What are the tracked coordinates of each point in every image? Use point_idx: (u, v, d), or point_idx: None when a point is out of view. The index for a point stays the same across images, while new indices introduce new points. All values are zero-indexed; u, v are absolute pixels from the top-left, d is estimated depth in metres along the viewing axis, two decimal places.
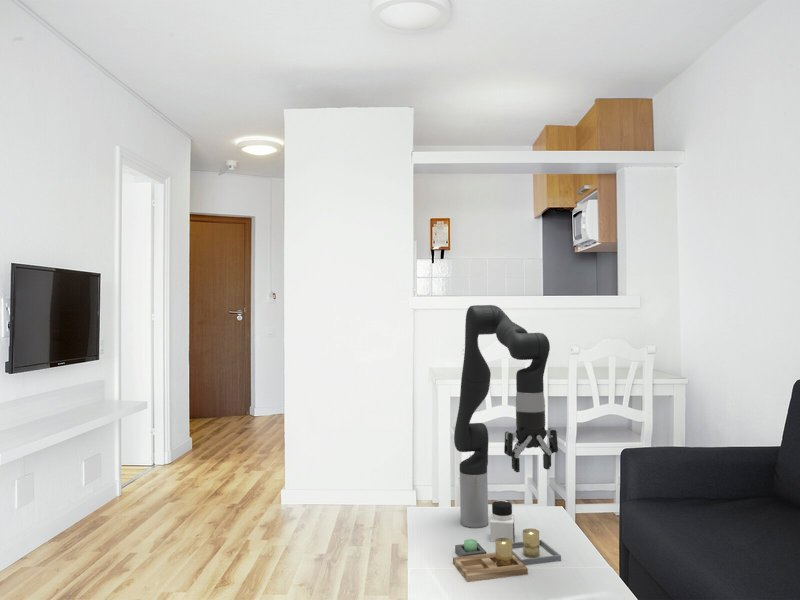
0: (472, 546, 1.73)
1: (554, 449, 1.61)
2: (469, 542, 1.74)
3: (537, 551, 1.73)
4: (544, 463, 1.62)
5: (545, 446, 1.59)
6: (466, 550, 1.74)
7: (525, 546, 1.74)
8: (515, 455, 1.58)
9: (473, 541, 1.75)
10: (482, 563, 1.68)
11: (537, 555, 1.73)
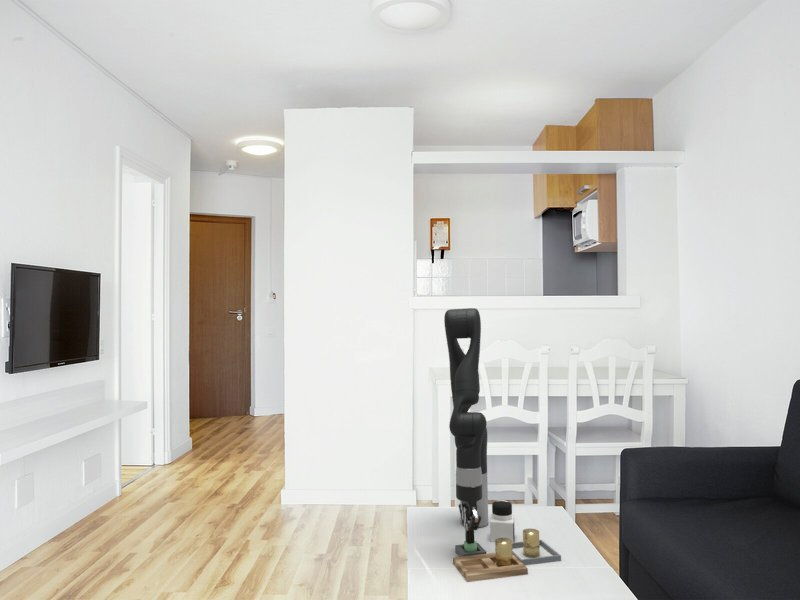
0: (472, 546, 1.73)
1: None
2: None
3: (537, 551, 1.73)
4: None
5: None
6: (466, 551, 1.74)
7: (525, 546, 1.74)
8: None
9: None
10: (482, 563, 1.68)
11: (537, 555, 1.73)
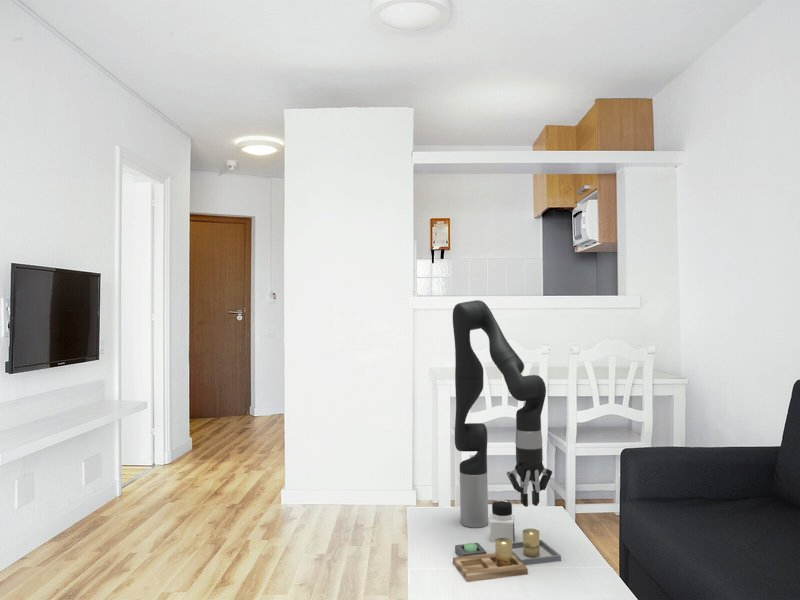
0: (472, 550, 1.73)
1: None
2: (469, 546, 1.74)
3: (537, 551, 1.73)
4: None
5: None
6: None
7: (525, 546, 1.74)
8: None
9: (473, 545, 1.75)
10: (482, 563, 1.68)
11: (537, 555, 1.73)
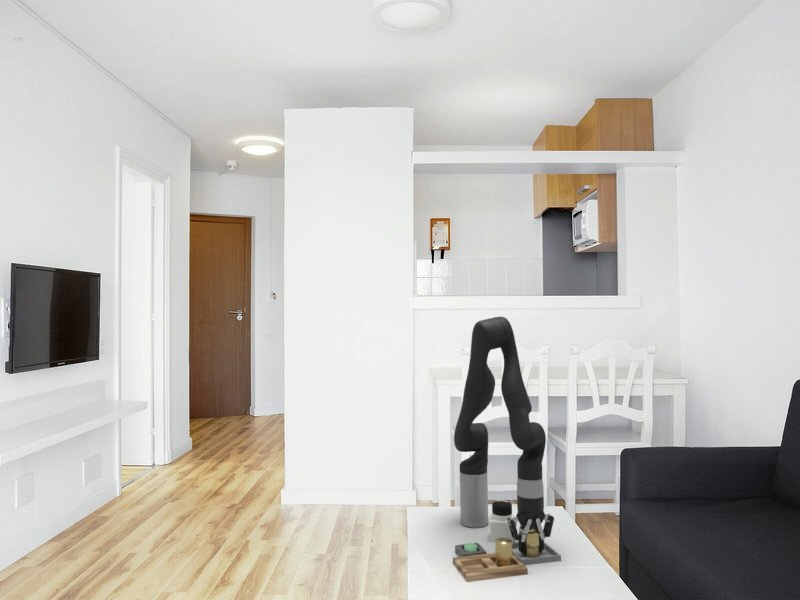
0: (472, 550, 1.73)
1: None
2: (469, 546, 1.74)
3: (537, 551, 1.73)
4: None
5: None
6: None
7: None
8: None
9: (473, 545, 1.75)
10: (482, 563, 1.68)
11: (537, 555, 1.73)
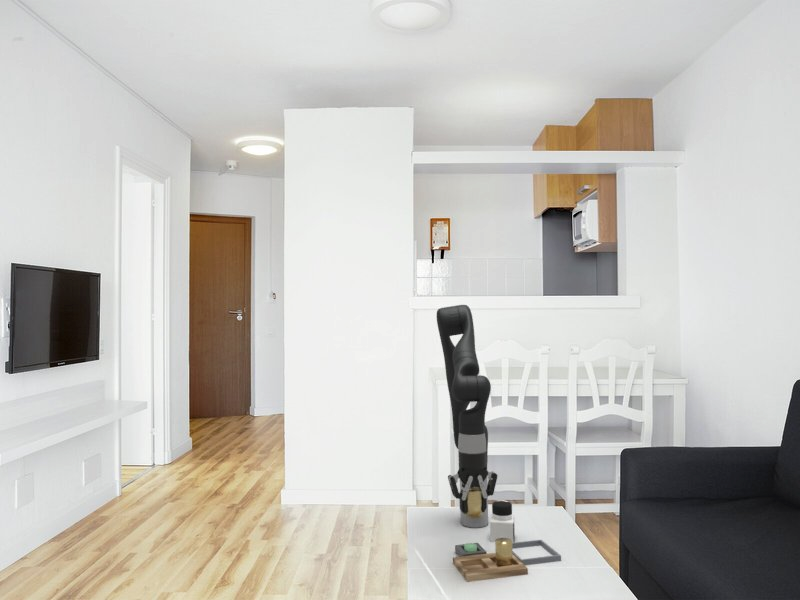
0: (472, 550, 1.73)
1: None
2: (469, 546, 1.74)
3: (479, 510, 1.63)
4: None
5: None
6: None
7: None
8: None
9: (473, 545, 1.75)
10: (482, 563, 1.68)
11: (479, 514, 1.63)
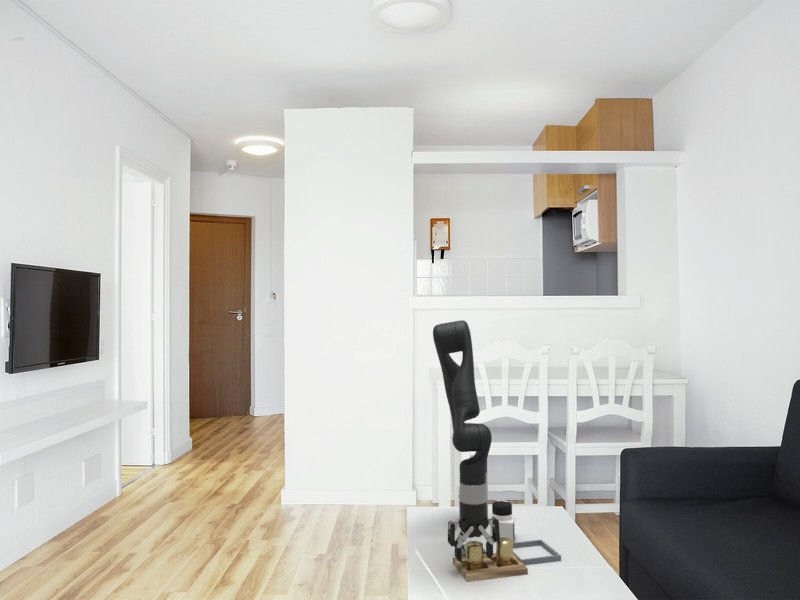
0: None
1: None
2: None
3: (480, 565, 1.63)
4: None
5: None
6: None
7: (468, 560, 1.64)
8: None
9: None
10: None
11: None
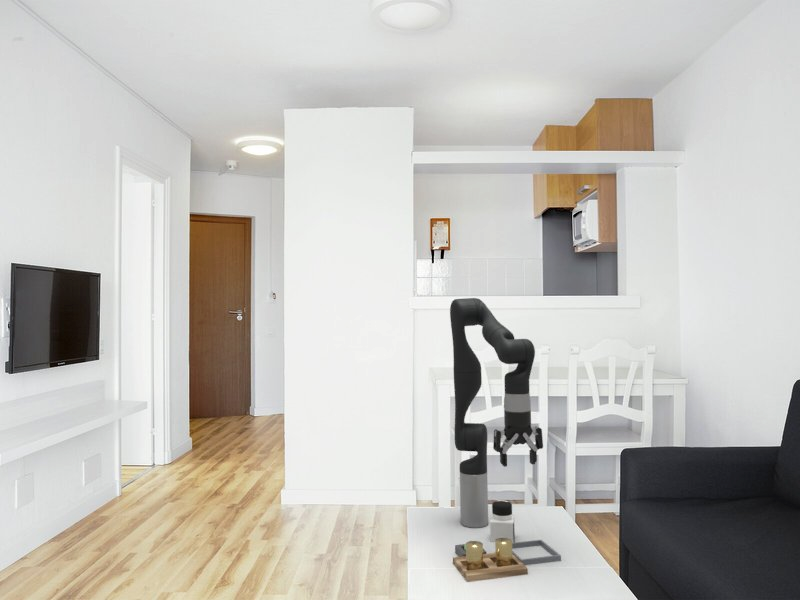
0: None
1: None
2: None
3: (480, 565, 1.63)
4: None
5: None
6: None
7: (467, 560, 1.64)
8: None
9: None
10: None
11: None
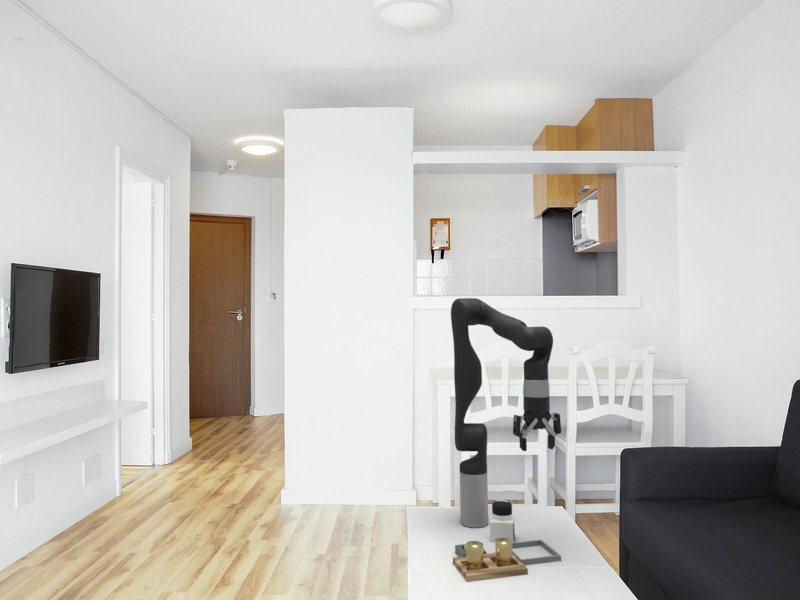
0: None
1: None
2: None
3: (480, 565, 1.63)
4: None
5: None
6: None
7: (468, 560, 1.64)
8: None
9: None
10: None
11: None
